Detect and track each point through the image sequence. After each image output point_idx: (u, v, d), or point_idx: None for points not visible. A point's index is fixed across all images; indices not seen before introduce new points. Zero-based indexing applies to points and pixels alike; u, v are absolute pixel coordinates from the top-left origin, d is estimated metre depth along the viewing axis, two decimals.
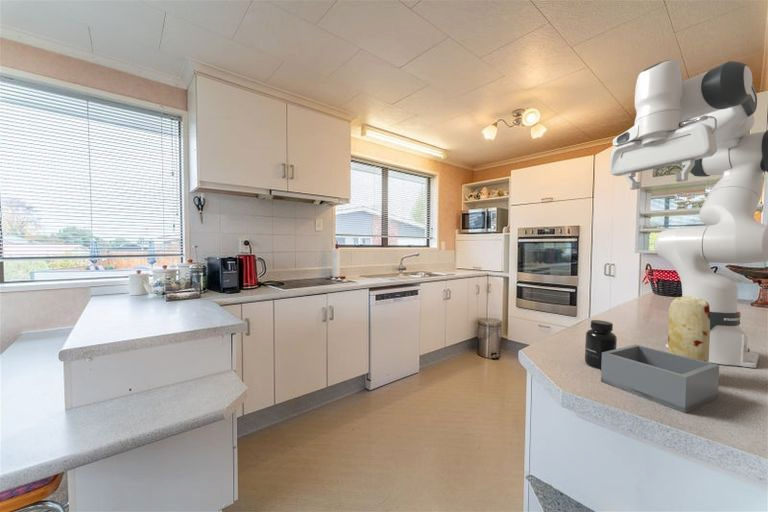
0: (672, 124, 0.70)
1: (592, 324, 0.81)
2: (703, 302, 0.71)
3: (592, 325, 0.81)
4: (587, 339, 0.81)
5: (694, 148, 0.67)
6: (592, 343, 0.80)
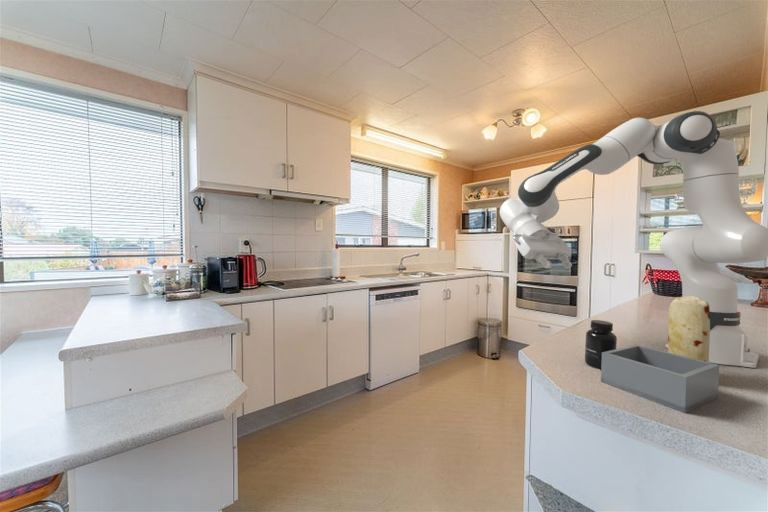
0: None
1: (592, 324, 0.81)
2: (703, 302, 0.71)
3: (592, 325, 0.81)
4: (587, 339, 0.81)
5: None
6: (592, 343, 0.80)
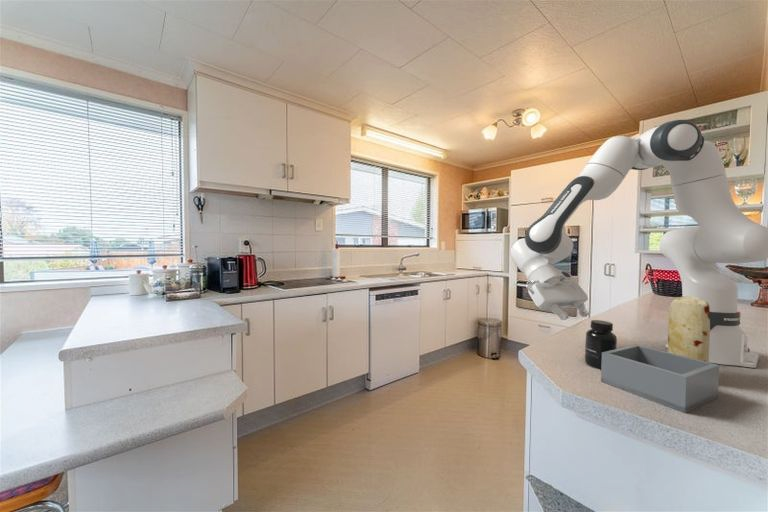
0: None
1: (592, 324, 0.81)
2: (703, 302, 0.71)
3: (592, 325, 0.81)
4: (587, 339, 0.81)
5: None
6: (592, 343, 0.80)
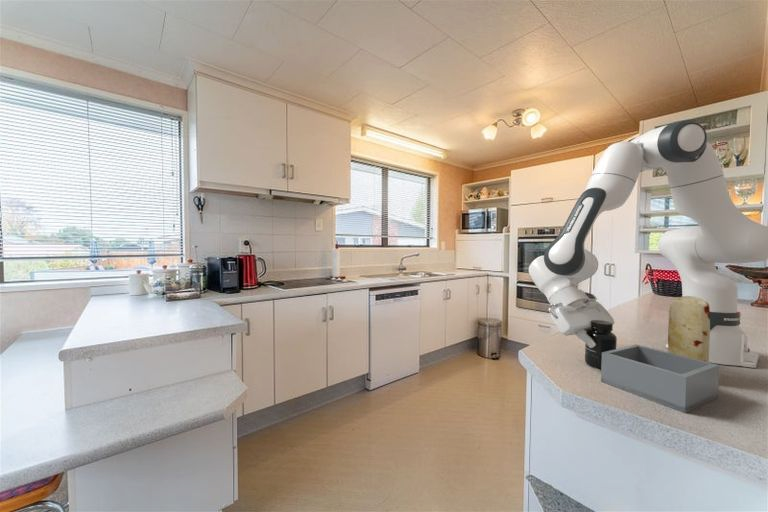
0: None
1: (592, 324, 0.81)
2: (703, 302, 0.71)
3: (592, 325, 0.81)
4: None
5: None
6: None
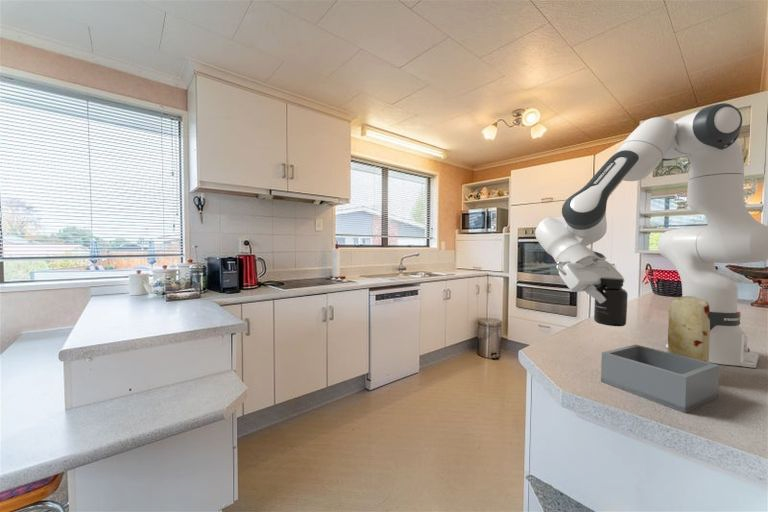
0: None
1: (602, 280, 0.78)
2: (703, 302, 0.71)
3: (602, 281, 0.78)
4: None
5: None
6: None
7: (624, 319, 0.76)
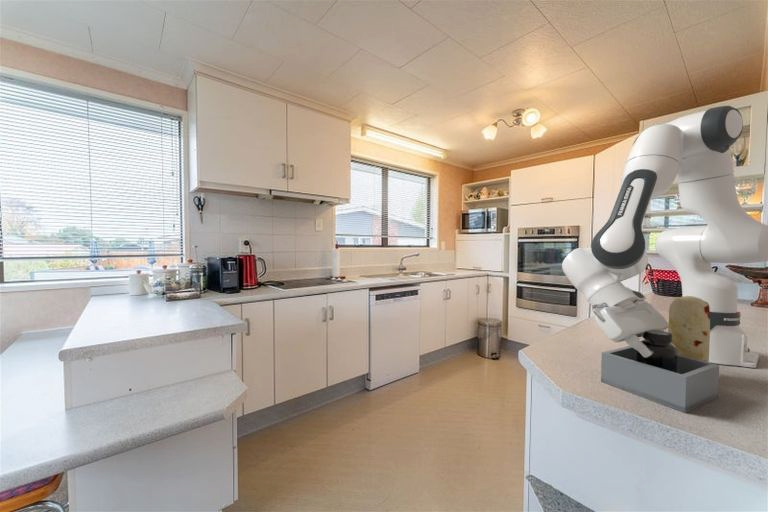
0: None
1: (646, 334, 0.68)
2: (703, 302, 0.71)
3: (646, 336, 0.68)
4: None
5: None
6: (647, 357, 0.67)
7: None
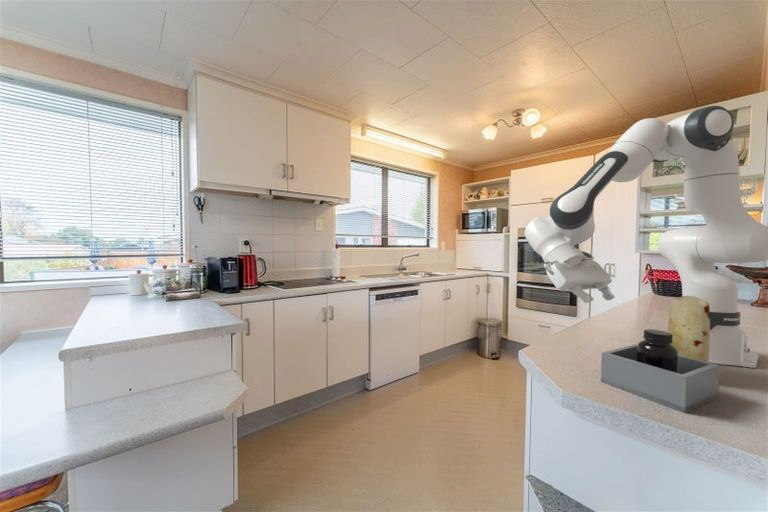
0: None
1: (646, 334, 0.68)
2: (703, 302, 0.71)
3: (646, 336, 0.68)
4: (640, 352, 0.68)
5: None
6: (647, 357, 0.67)
7: None
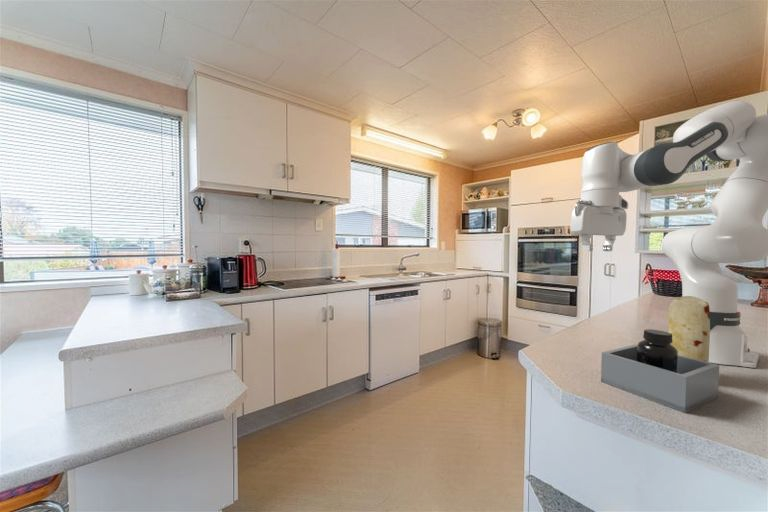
0: None
1: (646, 334, 0.68)
2: (703, 302, 0.71)
3: (646, 336, 0.68)
4: (640, 352, 0.68)
5: None
6: (647, 357, 0.67)
7: None
